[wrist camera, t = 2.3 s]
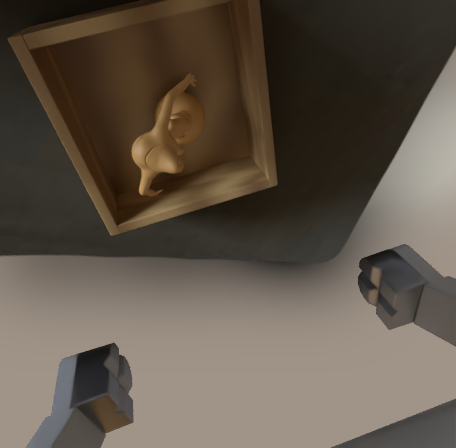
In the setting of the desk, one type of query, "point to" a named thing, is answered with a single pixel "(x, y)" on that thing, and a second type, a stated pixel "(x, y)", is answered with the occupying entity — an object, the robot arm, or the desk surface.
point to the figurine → (168, 134)
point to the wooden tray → (156, 100)
